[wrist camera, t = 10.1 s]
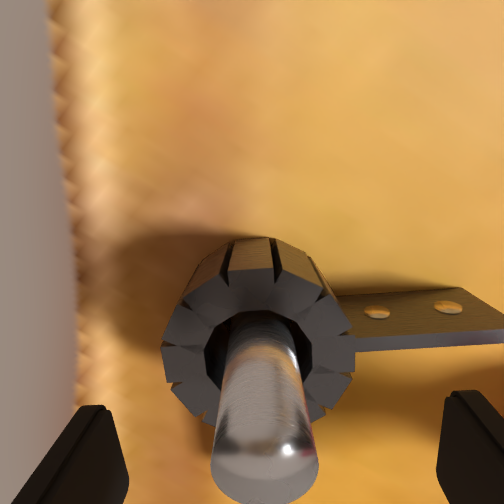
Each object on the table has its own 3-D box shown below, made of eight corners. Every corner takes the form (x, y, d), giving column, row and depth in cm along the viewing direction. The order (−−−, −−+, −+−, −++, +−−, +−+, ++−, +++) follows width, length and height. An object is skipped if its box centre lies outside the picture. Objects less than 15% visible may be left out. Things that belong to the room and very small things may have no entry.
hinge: (177, 244, 17) (147, 276, 13) (468, 222, 17) (553, 247, 12) (210, 464, 22) (197, 550, 17) (443, 452, 21) (497, 538, 16)
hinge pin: (231, 284, 18) (204, 427, 8) (284, 281, 18) (317, 421, 8) (236, 331, 19) (216, 509, 9) (287, 328, 19) (319, 504, 9)
